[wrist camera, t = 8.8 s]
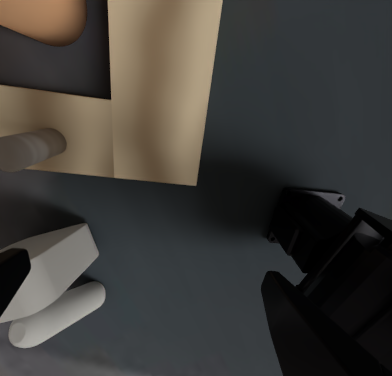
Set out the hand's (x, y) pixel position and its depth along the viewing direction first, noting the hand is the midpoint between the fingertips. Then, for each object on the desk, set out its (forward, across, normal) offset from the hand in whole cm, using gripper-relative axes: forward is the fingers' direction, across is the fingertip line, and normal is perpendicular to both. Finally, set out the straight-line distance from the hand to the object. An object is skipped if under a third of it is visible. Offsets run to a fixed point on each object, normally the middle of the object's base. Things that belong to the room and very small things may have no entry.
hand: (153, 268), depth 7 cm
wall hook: (+12, +10, +12) cm, 19 cm away
